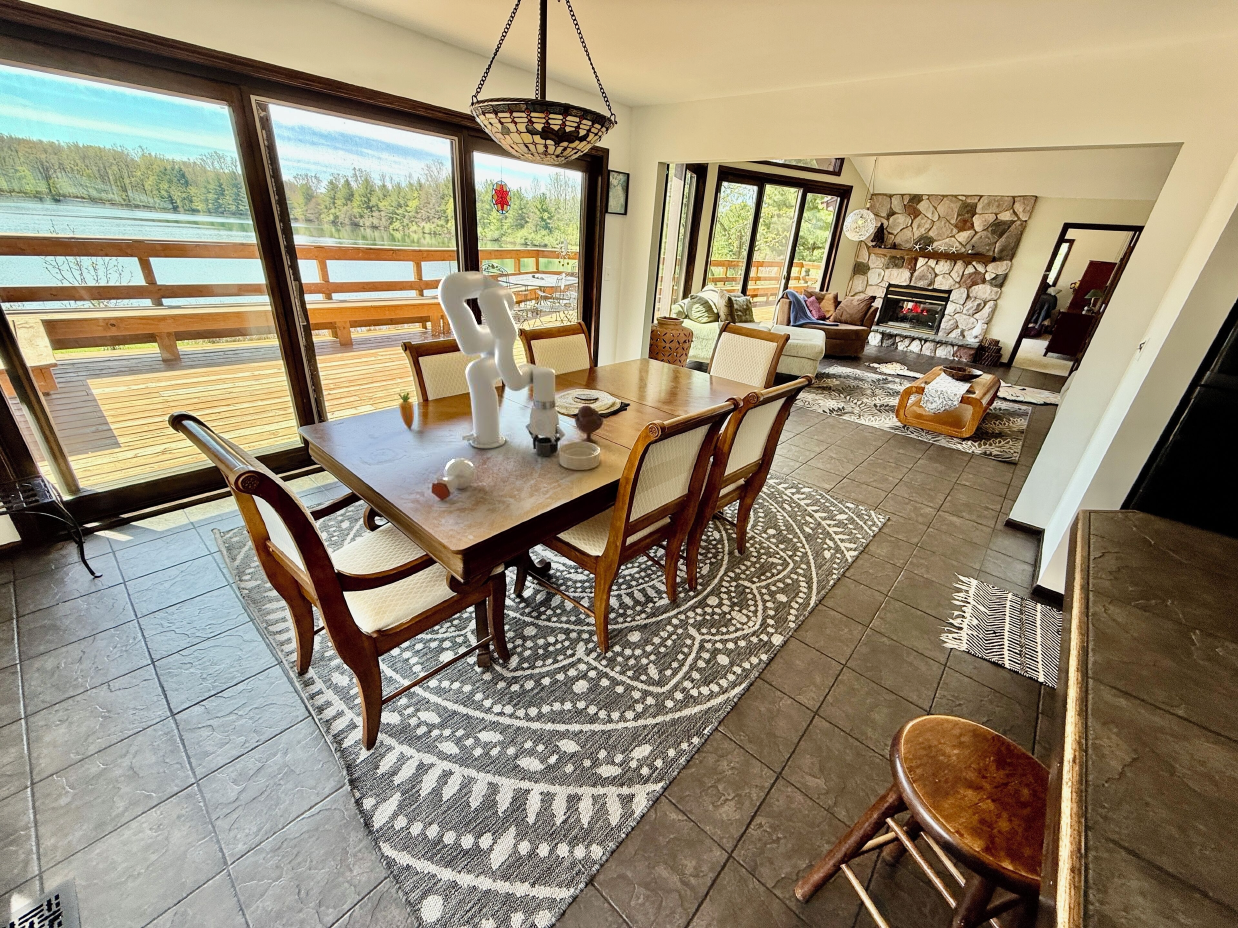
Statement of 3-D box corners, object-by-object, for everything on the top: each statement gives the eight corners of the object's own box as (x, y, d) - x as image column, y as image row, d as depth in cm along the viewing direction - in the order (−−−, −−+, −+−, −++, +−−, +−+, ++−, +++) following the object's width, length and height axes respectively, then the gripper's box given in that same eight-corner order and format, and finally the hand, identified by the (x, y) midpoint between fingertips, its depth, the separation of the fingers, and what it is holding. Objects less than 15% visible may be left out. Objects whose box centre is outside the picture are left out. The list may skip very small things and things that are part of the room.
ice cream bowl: (599, 449, 180) (600, 411, 174) (570, 445, 182) (570, 408, 176) (605, 438, 190) (606, 402, 183) (578, 435, 192) (578, 399, 185)
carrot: (400, 429, 188) (394, 393, 182) (409, 425, 192) (403, 389, 186) (409, 432, 187) (404, 395, 180) (419, 428, 191) (414, 391, 184)
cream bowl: (569, 474, 160) (569, 460, 158) (552, 457, 171) (552, 445, 169) (606, 466, 167) (607, 453, 165) (588, 451, 178) (588, 439, 176)
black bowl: (540, 458, 171) (539, 445, 168) (533, 451, 176) (532, 438, 174) (557, 455, 174) (557, 442, 172) (550, 448, 179) (550, 435, 177)
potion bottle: (475, 483, 155) (447, 510, 142) (451, 464, 154) (421, 489, 141) (487, 466, 149) (459, 492, 137) (461, 446, 148) (431, 471, 136)
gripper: (517, 402, 167) (519, 448, 175) (559, 411, 160) (560, 459, 168) (530, 396, 173) (531, 442, 181) (571, 405, 166) (571, 452, 174)
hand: (545, 450), depth 174 cm, fingers closed on black bowl, 7 cm apart
